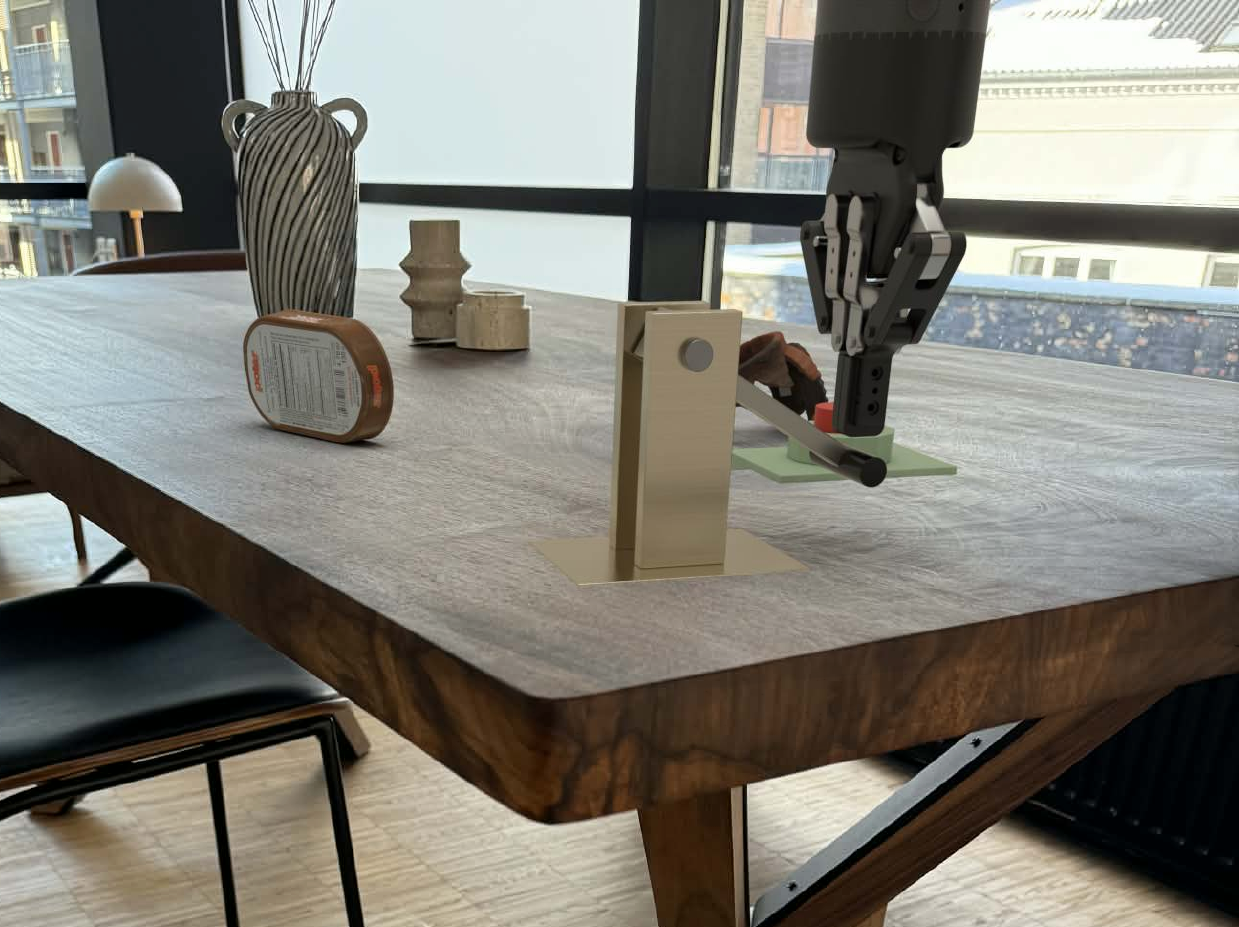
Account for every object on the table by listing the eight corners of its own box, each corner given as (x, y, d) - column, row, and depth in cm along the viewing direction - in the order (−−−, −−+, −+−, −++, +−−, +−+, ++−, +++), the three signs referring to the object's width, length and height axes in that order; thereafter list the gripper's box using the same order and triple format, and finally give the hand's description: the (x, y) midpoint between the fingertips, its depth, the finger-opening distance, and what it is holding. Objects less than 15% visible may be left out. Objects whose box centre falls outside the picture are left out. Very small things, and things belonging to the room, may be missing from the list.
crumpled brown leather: (826, 459, 108) (776, 352, 104) (713, 505, 114) (662, 406, 110) (866, 391, 116) (821, 290, 112) (759, 438, 122) (713, 343, 118)
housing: (888, 467, 103) (894, 413, 102) (954, 494, 96) (962, 436, 94) (723, 475, 101) (727, 420, 99) (778, 503, 93) (783, 444, 91)
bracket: (740, 552, 82) (760, 295, 76) (809, 595, 75) (838, 313, 68) (527, 565, 80) (530, 300, 73) (577, 611, 72) (584, 319, 66)
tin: (399, 446, 110) (395, 320, 106) (365, 451, 108) (360, 323, 104) (274, 420, 119) (266, 304, 115) (241, 425, 117) (231, 307, 113)
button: (854, 429, 99) (857, 400, 98) (879, 438, 96) (883, 409, 95) (803, 431, 98) (806, 402, 97) (827, 441, 95) (830, 411, 94)
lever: (818, 478, 80) (844, 436, 79) (870, 501, 75) (898, 457, 74) (620, 348, 74) (645, 301, 73) (661, 364, 69) (689, 314, 68)
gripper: (1057, 18, 63) (992, 454, 71) (906, 36, 74) (865, 410, 82) (892, 15, 61) (846, 461, 70) (763, 34, 72) (736, 416, 81)
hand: (856, 433), depth 76 cm, fingers closed
